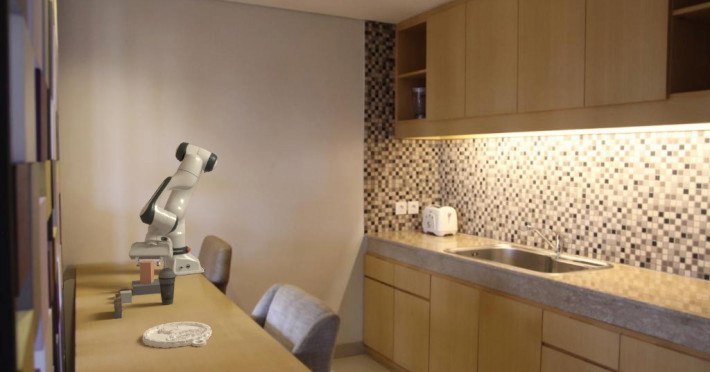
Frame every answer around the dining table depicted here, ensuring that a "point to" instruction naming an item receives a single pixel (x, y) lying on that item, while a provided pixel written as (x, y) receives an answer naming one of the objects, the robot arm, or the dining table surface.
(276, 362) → the dining table surface
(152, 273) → the terracotta block
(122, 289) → the walnut block
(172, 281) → the beverage cup
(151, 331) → the medallion
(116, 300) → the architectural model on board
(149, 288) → the block
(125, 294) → the grey plastic block
